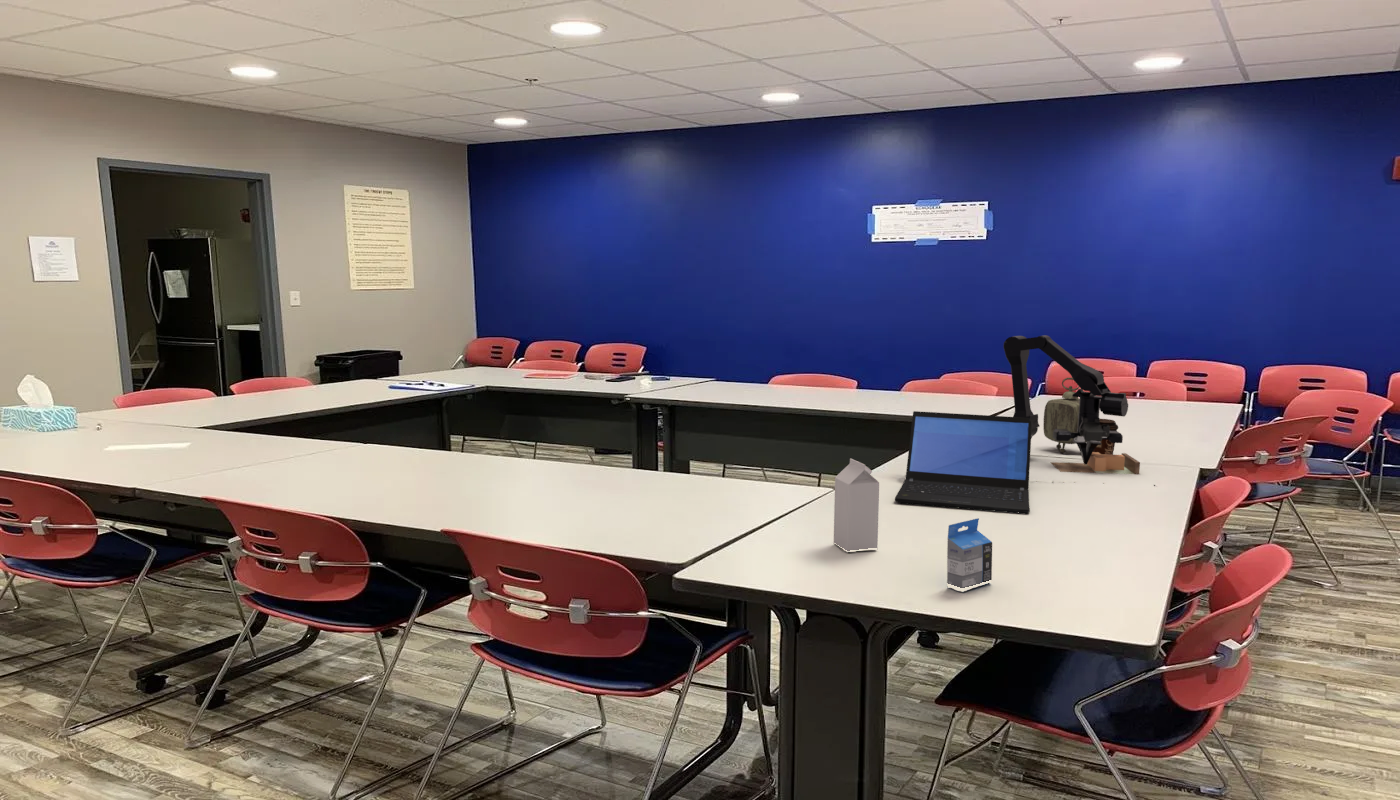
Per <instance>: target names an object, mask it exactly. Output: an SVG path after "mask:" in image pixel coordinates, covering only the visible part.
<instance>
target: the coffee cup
mask: <svg viewBox="0 0 1400 800" xmlns="http://www.w3.org/2000/svg"><path fill="white" fill-rule="evenodd" d="M1100 425H1109V426H1110V431H1117V432H1118V429H1119V426H1118V424H1117V423H1116V421H1115V420H1114V419H1108V418H1100ZM1100 443H1102V444H1101V445H1098V446H1097V447H1096V448H1095V449H1094V451H1093V452H1099V453H1100V454H1112V455H1114V450H1115V447H1116V446H1115V445H1116V443H1111V442H1110V441H1109V440H1105V439H1102V441H1100Z"/></svg>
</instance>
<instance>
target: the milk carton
mask: <svg viewBox="0 0 1400 800" xmlns="http://www.w3.org/2000/svg"><path fill="white" fill-rule="evenodd" d="M872 473H873V471H872V470H871V469H870V467H868V466H866V464H864V463H862V462H861V461H857V460H855V459H853V458H849V464H848V465H847V466H845V467H844V468H843V469H842V470H841V471H840V472H838V474H837V475H836V476H835V477H834V478H835V479H834V505H833V507H834V508H833V509H834V511H833V513H834V516H833V544H834V543H836V544H837V545H839V546H840V547H842V548H844V549H845V550H847V551H850V550H859V549H868V548H877V549H878V541H879V540H878V539H879V538H878V535H879V510H880V509H879V508H880V507H879V505H880V482H879V481H878V479H876V478H875V477H874V476H873V475H871V474H872Z"/></svg>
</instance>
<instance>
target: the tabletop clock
mask: <svg viewBox="0 0 1400 800" xmlns="http://www.w3.org/2000/svg"><path fill="white" fill-rule="evenodd" d="M1069 380H1071V381H1074V380H1073V378H1072V377H1065V378H1064V379H1062V382H1061V385H1062V388H1063V389H1064V390H1066V391H1065V392H1064V393H1063V394H1062V396H1061V398H1056V399H1049V400H1047V402H1046V403H1045V406H1044V412H1043V435H1044V437H1045V438H1047V439H1048V440H1050V441H1052V442H1055V443H1058V444H1056V445H1055V447H1056V449H1057V450H1059V452H1060V454H1065V453H1066V449H1065V447H1066V445H1075V444H1076V443H1074V442H1073V439H1074V438H1071V439H1070V440H1068V441H1057V440H1055V439H1054V438H1053V431H1054V430H1055V429H1067V430H1069V431H1070V432H1077V428H1078V415H1079V400H1080V397H1073V396H1072V395H1073V394H1074V393H1076V392H1075V391H1078V389H1080V387H1079V386H1078V385H1077V387H1076V388H1073V386H1072V385H1070V386H1069V387H1066V386H1065V385H1064V383H1065V381H1069ZM1085 442H1086V443H1087V441H1086V440H1085ZM1061 444H1062V445H1061ZM1076 445H1077V444H1076Z"/></svg>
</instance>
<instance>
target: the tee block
mask: <svg viewBox="0 0 1400 800" xmlns="http://www.w3.org/2000/svg"><path fill="white" fill-rule="evenodd" d="M1124 462H1125V456H1123V455H1122V454H1113V455H1112V454H1100V453H1099V452H1092V454H1091V456H1090V459H1089V461H1088V463H1087V465H1088V466H1089V467H1091V468H1092V469H1093V470H1094V471H1106V469H1112V470H1124Z"/></svg>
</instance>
